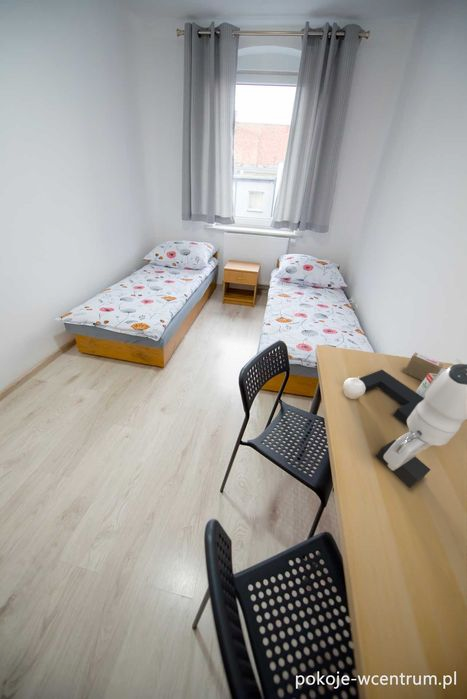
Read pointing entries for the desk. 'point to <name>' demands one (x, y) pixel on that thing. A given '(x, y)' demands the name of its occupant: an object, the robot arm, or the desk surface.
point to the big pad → (393, 392)
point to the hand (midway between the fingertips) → (402, 460)
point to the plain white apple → (354, 388)
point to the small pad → (406, 468)
